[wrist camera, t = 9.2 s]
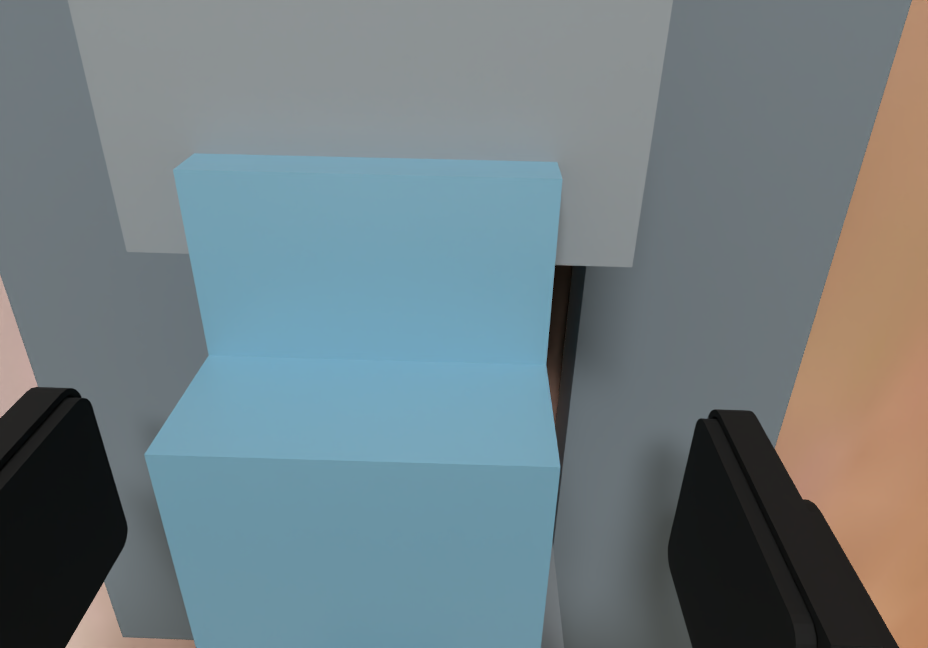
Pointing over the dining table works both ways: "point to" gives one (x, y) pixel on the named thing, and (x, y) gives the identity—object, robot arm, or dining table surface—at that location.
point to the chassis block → (459, 138)
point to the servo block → (365, 403)
